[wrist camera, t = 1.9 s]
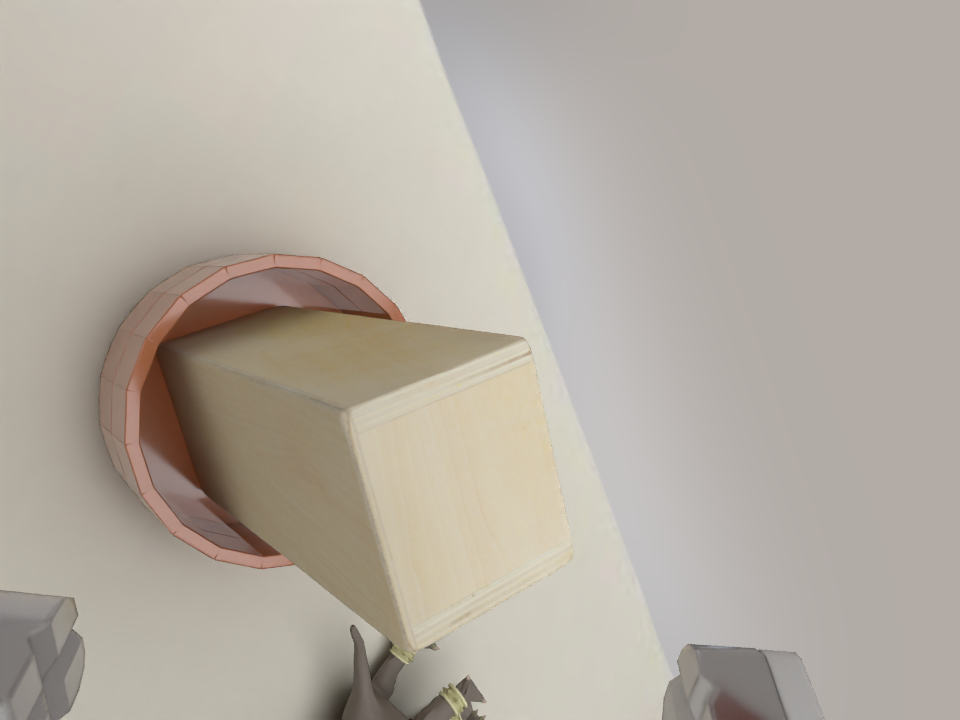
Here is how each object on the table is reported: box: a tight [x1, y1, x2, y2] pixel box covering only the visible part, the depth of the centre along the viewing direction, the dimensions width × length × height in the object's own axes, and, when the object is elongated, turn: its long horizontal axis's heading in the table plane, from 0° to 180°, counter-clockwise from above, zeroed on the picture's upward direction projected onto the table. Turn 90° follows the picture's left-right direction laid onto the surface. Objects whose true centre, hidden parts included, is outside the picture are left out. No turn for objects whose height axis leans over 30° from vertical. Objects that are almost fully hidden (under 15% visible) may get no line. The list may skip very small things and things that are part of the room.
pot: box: [99, 254, 406, 569], centre depth 41 cm, size 14×14×6 cm
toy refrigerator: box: [157, 305, 573, 652], centre depth 34 cm, size 8×7×21 cm
